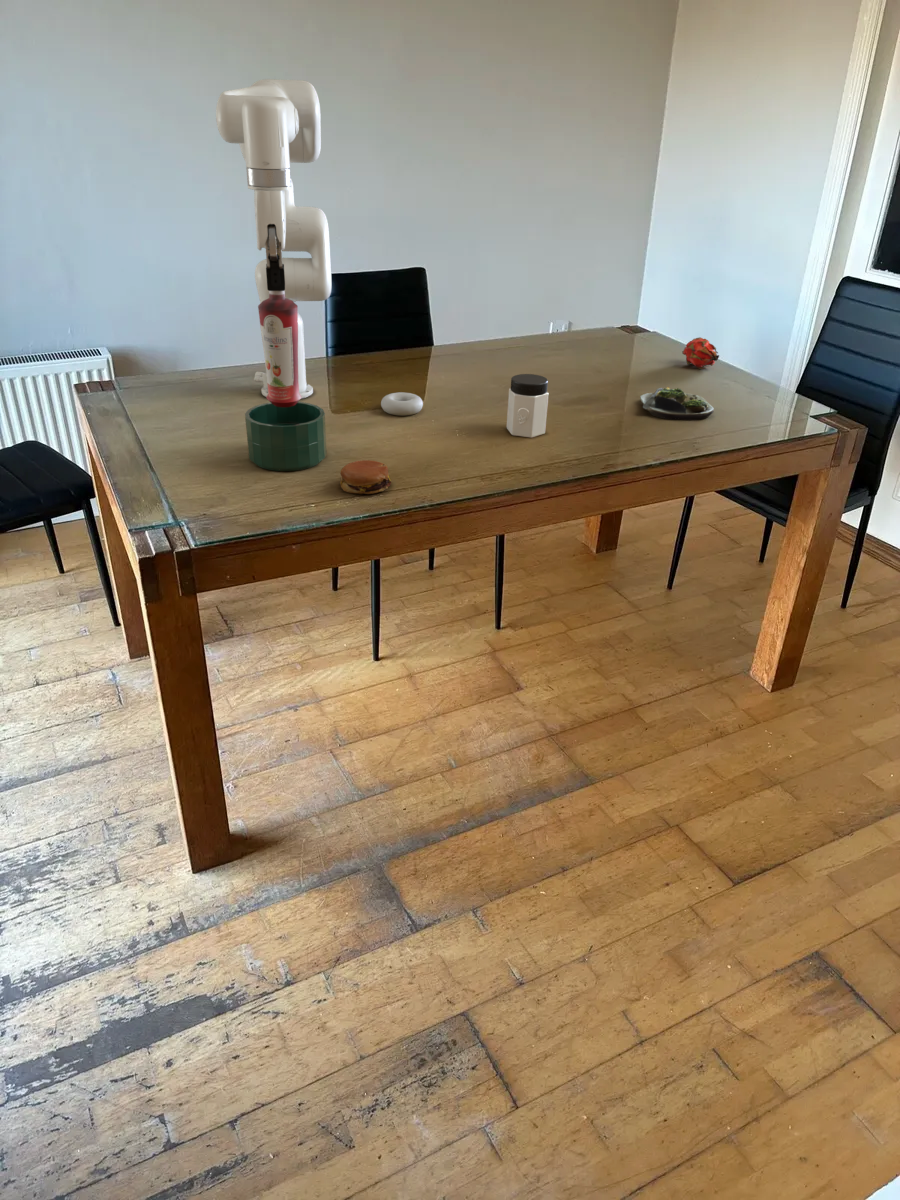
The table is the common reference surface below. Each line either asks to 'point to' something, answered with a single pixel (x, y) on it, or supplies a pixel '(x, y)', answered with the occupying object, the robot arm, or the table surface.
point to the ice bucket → (286, 436)
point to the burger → (365, 477)
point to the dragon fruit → (700, 353)
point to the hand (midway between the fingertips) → (276, 287)
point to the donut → (401, 404)
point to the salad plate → (676, 405)
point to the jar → (527, 405)
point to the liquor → (280, 348)
